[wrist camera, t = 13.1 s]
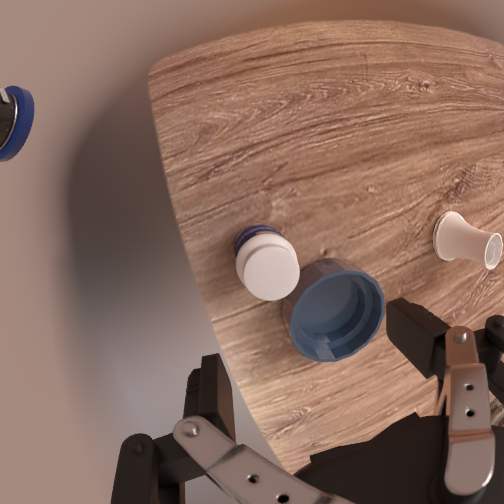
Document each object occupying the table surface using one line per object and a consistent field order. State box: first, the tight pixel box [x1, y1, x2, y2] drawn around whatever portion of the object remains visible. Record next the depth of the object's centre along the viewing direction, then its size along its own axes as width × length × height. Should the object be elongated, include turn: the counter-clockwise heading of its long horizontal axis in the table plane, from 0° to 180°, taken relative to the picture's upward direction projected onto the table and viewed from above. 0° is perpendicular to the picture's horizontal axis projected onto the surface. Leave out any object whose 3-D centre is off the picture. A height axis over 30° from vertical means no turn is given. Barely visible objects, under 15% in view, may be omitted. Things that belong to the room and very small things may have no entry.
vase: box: [433, 211, 502, 270], centre depth 29 cm, size 8×8×10 cm
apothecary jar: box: [490, 399, 504, 427], centre depth 46 cm, size 12×12×18 cm
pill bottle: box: [234, 223, 300, 301], centre depth 27 cm, size 6×6×10 cm
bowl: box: [281, 258, 385, 362], centre depth 32 cm, size 12×12×5 cm
